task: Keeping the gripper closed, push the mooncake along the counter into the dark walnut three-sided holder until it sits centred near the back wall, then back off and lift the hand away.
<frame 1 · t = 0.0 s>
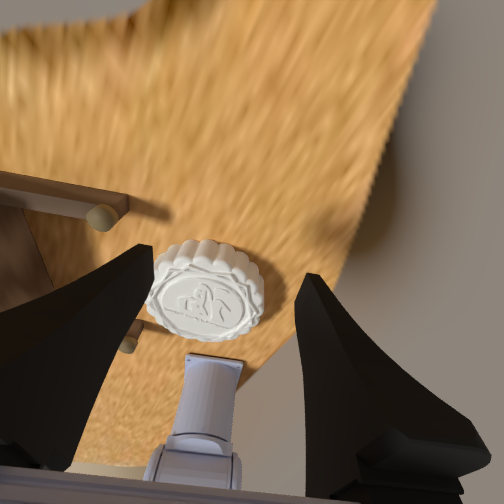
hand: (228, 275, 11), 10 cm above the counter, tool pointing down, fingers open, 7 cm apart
mooncake: (209, 283, 26), on the counter
lid holder: (102, 269, 25), on the counter
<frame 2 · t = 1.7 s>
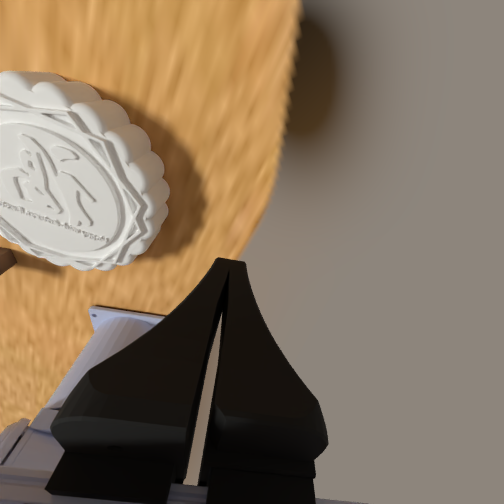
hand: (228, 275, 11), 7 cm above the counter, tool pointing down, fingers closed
mooncake: (86, 177, 17), on the counter
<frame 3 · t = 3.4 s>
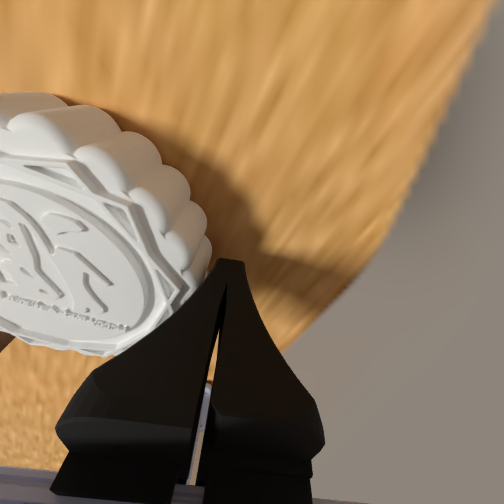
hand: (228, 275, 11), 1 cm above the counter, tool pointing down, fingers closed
mooncake: (96, 231, 12), on the counter
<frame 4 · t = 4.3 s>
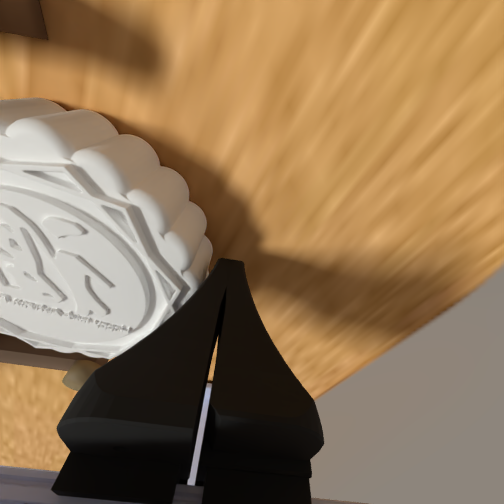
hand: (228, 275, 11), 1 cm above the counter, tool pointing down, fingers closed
mooncake: (98, 234, 12), on the counter, touching gripper
lid holder: (21, 222, 12), on the counter
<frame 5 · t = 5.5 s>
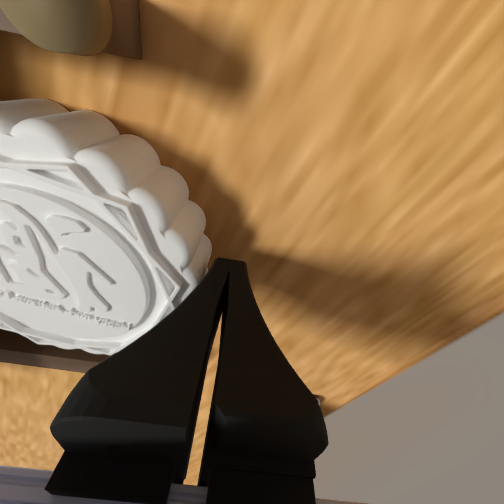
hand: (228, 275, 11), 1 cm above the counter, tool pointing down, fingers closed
mooncake: (99, 233, 13), on the counter
lid holder: (82, 232, 12), on the counter
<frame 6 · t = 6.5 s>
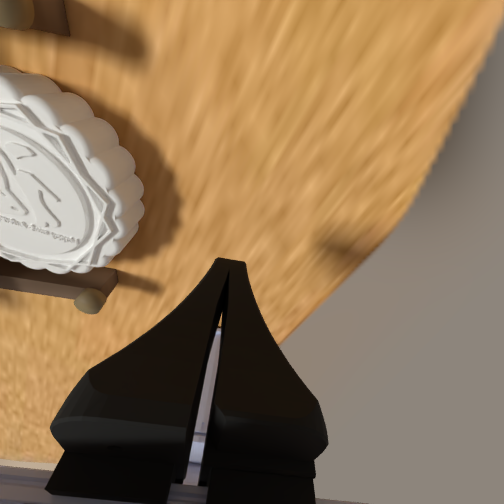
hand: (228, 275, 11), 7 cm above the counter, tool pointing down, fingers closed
mooncake: (58, 177, 16), on the counter
lid holder: (44, 174, 16), on the counter
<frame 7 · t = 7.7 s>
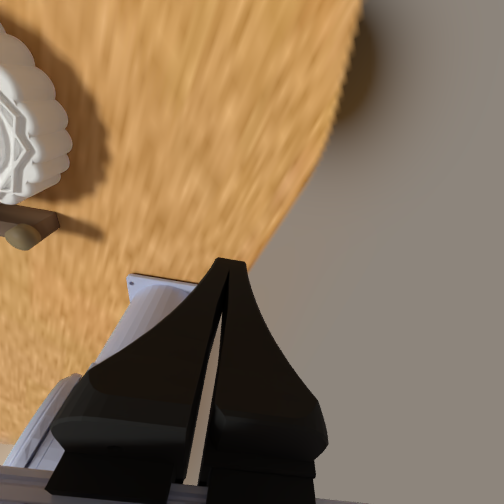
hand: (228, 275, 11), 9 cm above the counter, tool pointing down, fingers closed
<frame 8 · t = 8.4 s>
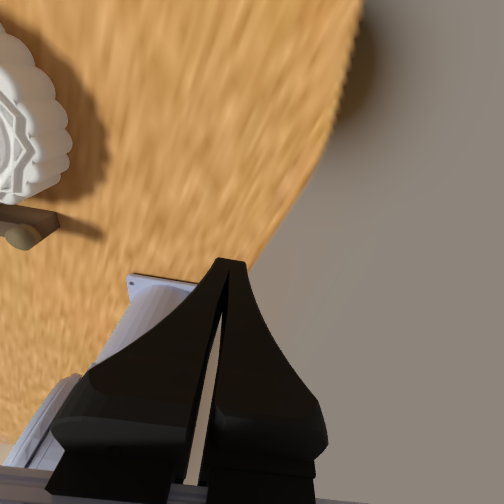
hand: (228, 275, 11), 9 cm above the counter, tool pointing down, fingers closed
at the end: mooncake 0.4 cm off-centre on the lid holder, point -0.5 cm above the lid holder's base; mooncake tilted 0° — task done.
